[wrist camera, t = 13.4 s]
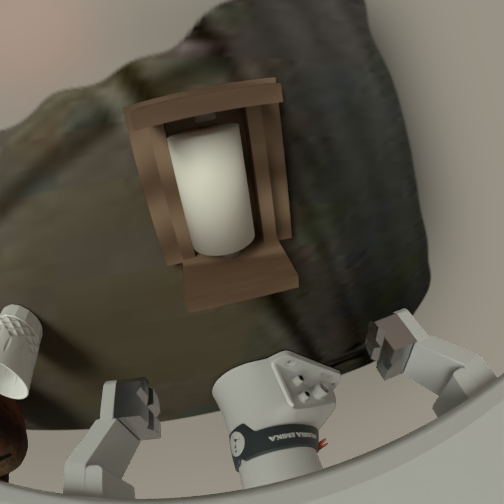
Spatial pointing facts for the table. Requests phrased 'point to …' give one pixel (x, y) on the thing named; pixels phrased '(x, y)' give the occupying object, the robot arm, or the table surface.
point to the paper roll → (213, 187)
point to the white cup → (18, 350)
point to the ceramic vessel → (11, 437)
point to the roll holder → (258, 179)
